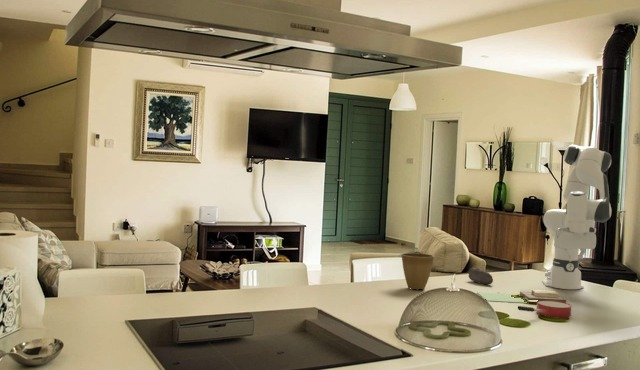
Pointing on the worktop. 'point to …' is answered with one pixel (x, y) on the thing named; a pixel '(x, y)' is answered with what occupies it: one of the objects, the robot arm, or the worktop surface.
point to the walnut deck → (532, 297)
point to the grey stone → (480, 276)
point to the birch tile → (545, 293)
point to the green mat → (500, 297)
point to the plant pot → (417, 269)
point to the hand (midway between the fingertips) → (574, 258)
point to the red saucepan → (550, 308)
